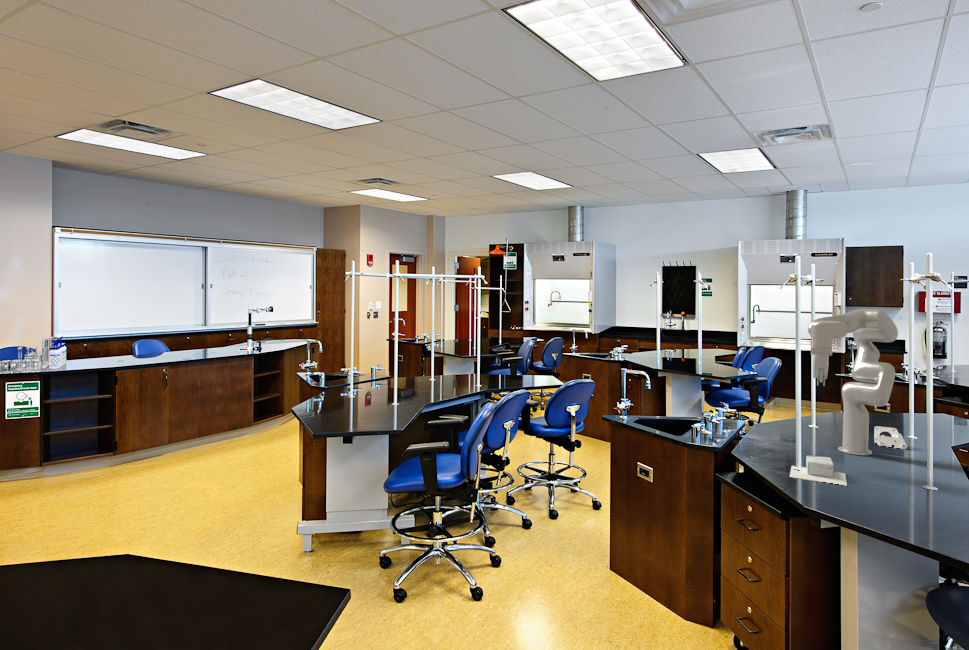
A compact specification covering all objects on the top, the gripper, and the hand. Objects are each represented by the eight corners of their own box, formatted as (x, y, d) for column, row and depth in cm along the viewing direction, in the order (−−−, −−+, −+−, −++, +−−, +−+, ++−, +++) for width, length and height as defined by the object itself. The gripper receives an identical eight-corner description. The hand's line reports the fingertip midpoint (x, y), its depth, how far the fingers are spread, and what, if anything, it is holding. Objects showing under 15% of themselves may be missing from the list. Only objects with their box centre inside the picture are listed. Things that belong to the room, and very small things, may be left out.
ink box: (831, 457, 211) (834, 464, 201) (830, 470, 211) (834, 477, 201) (805, 454, 215) (807, 460, 205) (805, 467, 215) (807, 474, 205)
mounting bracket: (905, 452, 252) (905, 429, 255) (907, 449, 247) (907, 426, 250) (874, 448, 258) (874, 426, 262) (875, 445, 253) (875, 423, 257)
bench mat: (791, 466, 217) (791, 465, 217) (845, 474, 208) (845, 473, 207) (789, 477, 202) (789, 476, 202) (847, 486, 192) (847, 485, 192)
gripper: (810, 349, 231) (810, 391, 232) (810, 352, 219) (810, 397, 219) (831, 350, 227) (830, 393, 228) (832, 353, 215) (831, 398, 215)
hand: (820, 395), depth 224 cm, fingers closed
